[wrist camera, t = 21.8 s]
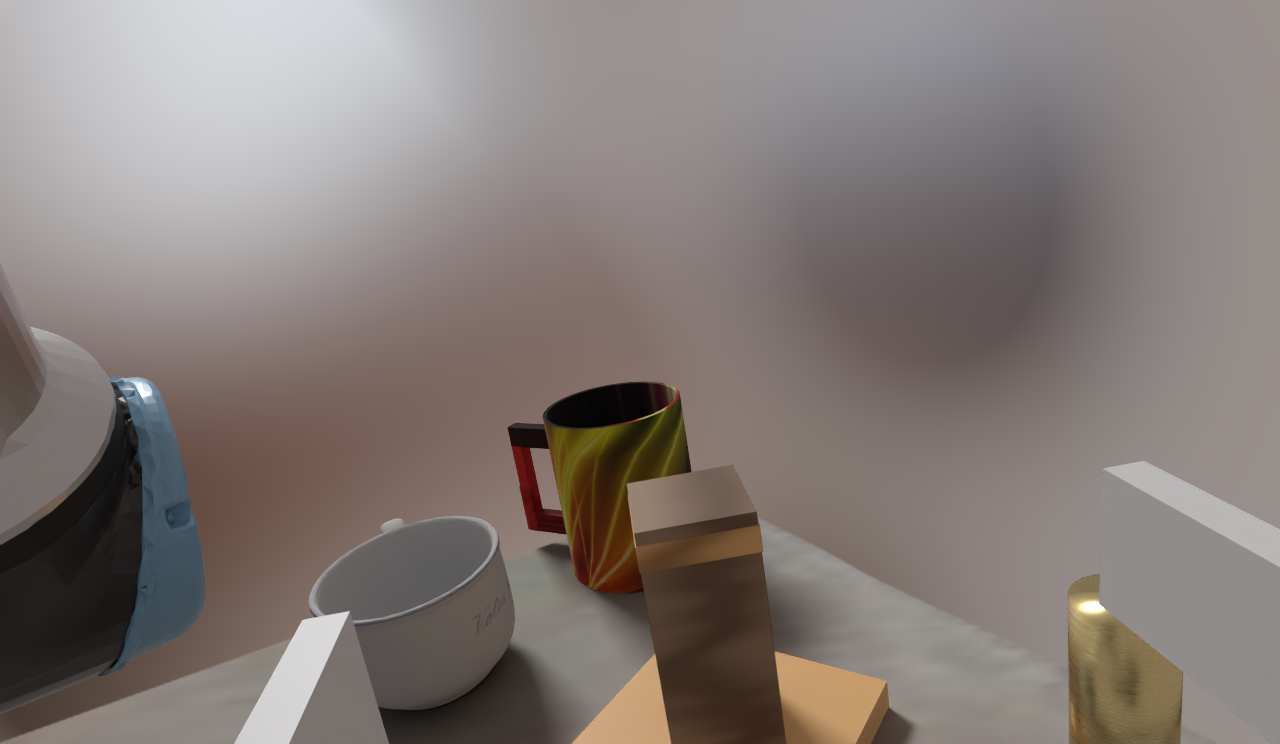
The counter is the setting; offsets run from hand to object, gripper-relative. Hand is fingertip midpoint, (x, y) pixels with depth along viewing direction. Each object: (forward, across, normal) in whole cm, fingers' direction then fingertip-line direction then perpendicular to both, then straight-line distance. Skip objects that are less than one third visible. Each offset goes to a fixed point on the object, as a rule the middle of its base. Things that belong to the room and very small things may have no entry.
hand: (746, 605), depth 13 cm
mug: (+39, -3, -21) cm, 44 cm away
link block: (+18, +1, -19) cm, 26 cm away
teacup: (+31, -14, -21) cm, 40 cm away
